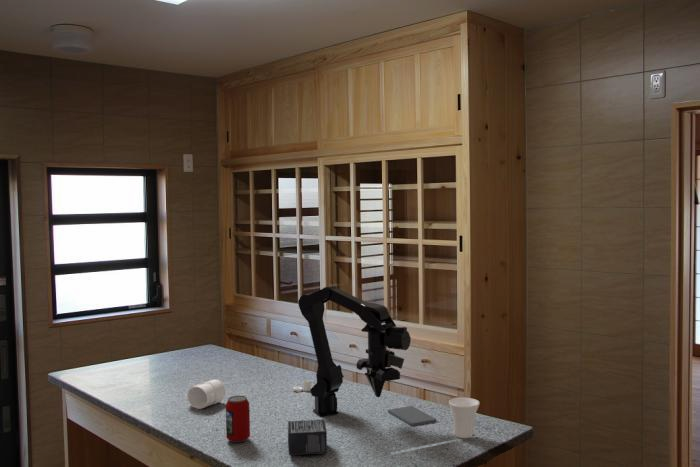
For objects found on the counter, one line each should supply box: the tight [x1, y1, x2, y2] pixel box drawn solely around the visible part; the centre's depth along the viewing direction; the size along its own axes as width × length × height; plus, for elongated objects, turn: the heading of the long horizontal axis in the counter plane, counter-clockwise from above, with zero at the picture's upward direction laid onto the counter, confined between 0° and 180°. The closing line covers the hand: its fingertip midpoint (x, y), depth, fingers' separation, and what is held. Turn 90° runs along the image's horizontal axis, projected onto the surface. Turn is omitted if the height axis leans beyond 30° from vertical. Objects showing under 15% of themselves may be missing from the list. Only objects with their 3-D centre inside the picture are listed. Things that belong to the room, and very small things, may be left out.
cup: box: [448, 397, 481, 439], centre depth 187 cm, size 9×9×10 cm
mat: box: [387, 405, 437, 427], centre depth 204 cm, size 9×15×1 cm, turn 25°
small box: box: [287, 419, 328, 456], centre depth 178 cm, size 11×6×10 cm
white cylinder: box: [187, 379, 226, 410], centre depth 220 cm, size 12×9×8 cm
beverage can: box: [225, 395, 251, 443], centre depth 187 cm, size 7×7×12 cm
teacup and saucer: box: [292, 379, 316, 395], centre depth 235 cm, size 9×8×4 cm
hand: (378, 396), depth 199 cm, fingers closed
